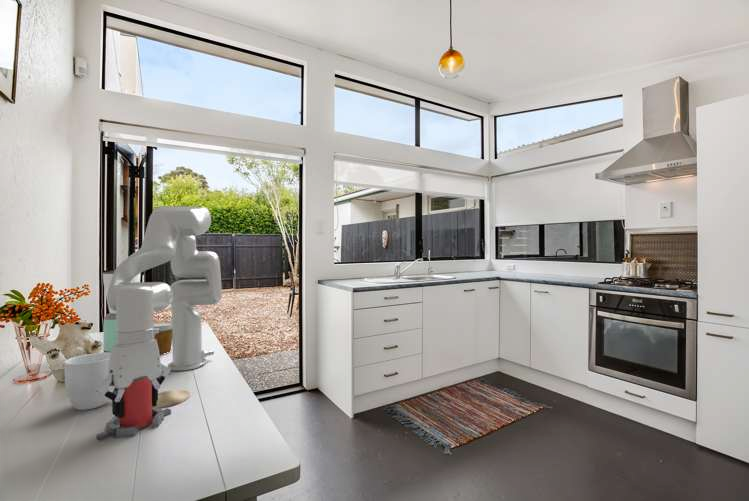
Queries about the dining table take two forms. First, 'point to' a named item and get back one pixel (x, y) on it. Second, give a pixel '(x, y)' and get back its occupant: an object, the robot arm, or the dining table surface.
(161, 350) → the disposable coffee cup
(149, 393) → the beer can
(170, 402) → the disc
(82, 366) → the mug
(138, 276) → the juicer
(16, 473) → the dining table surface
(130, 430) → the collar
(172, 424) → the dining table surface
